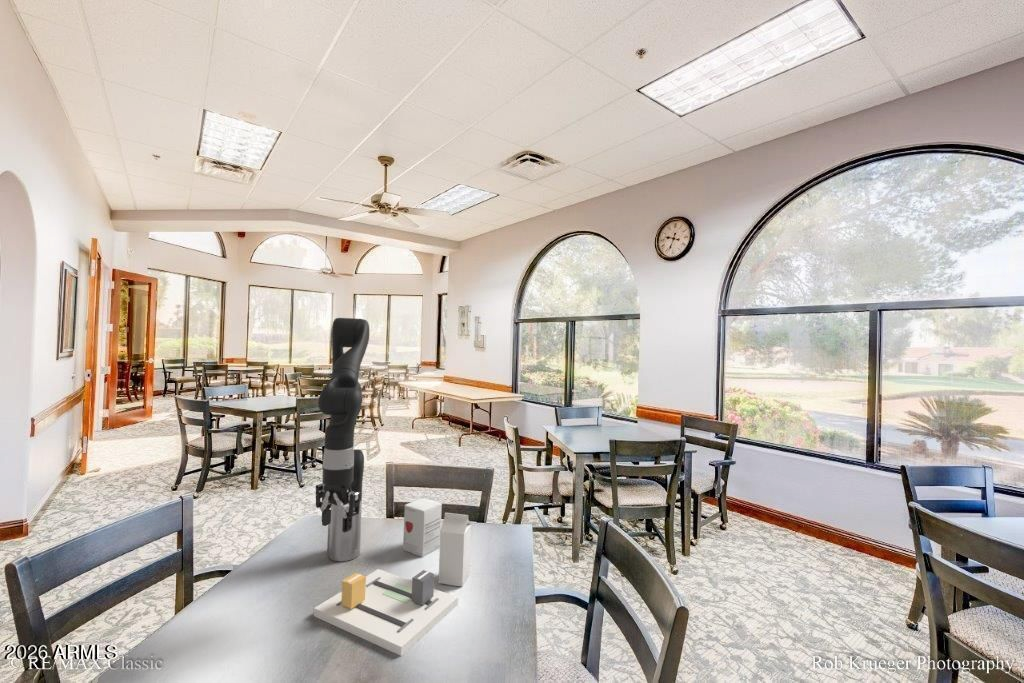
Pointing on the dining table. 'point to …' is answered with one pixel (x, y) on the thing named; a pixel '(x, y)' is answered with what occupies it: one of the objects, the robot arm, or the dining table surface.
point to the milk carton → (454, 549)
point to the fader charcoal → (422, 587)
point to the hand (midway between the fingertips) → (336, 527)
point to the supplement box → (422, 526)
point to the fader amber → (353, 590)
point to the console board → (388, 612)
